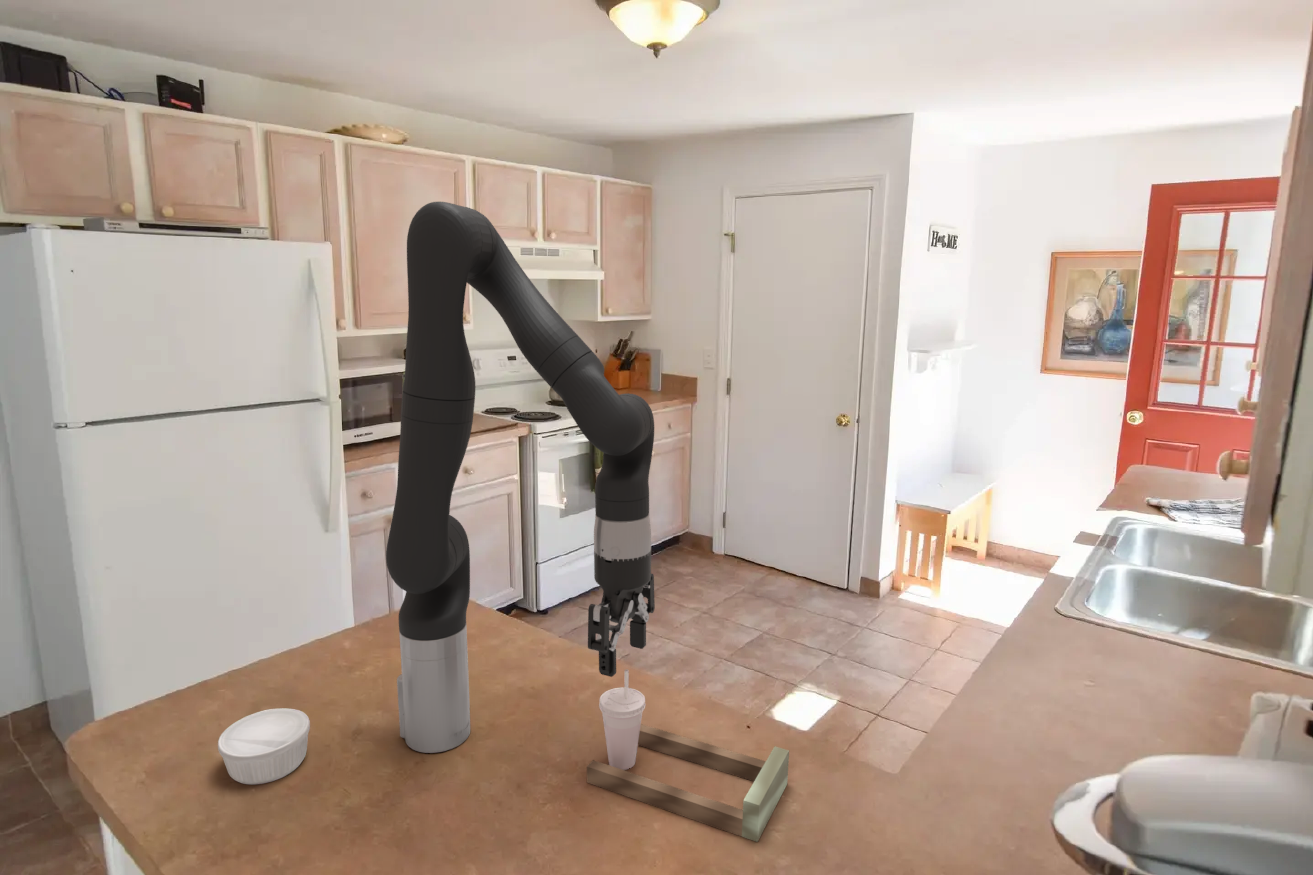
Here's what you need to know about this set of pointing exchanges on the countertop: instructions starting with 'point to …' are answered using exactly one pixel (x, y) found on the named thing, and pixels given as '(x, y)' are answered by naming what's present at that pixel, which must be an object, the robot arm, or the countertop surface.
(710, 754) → the guide channel
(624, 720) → the smoothie
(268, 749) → the ramekin
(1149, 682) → the countertop surface
